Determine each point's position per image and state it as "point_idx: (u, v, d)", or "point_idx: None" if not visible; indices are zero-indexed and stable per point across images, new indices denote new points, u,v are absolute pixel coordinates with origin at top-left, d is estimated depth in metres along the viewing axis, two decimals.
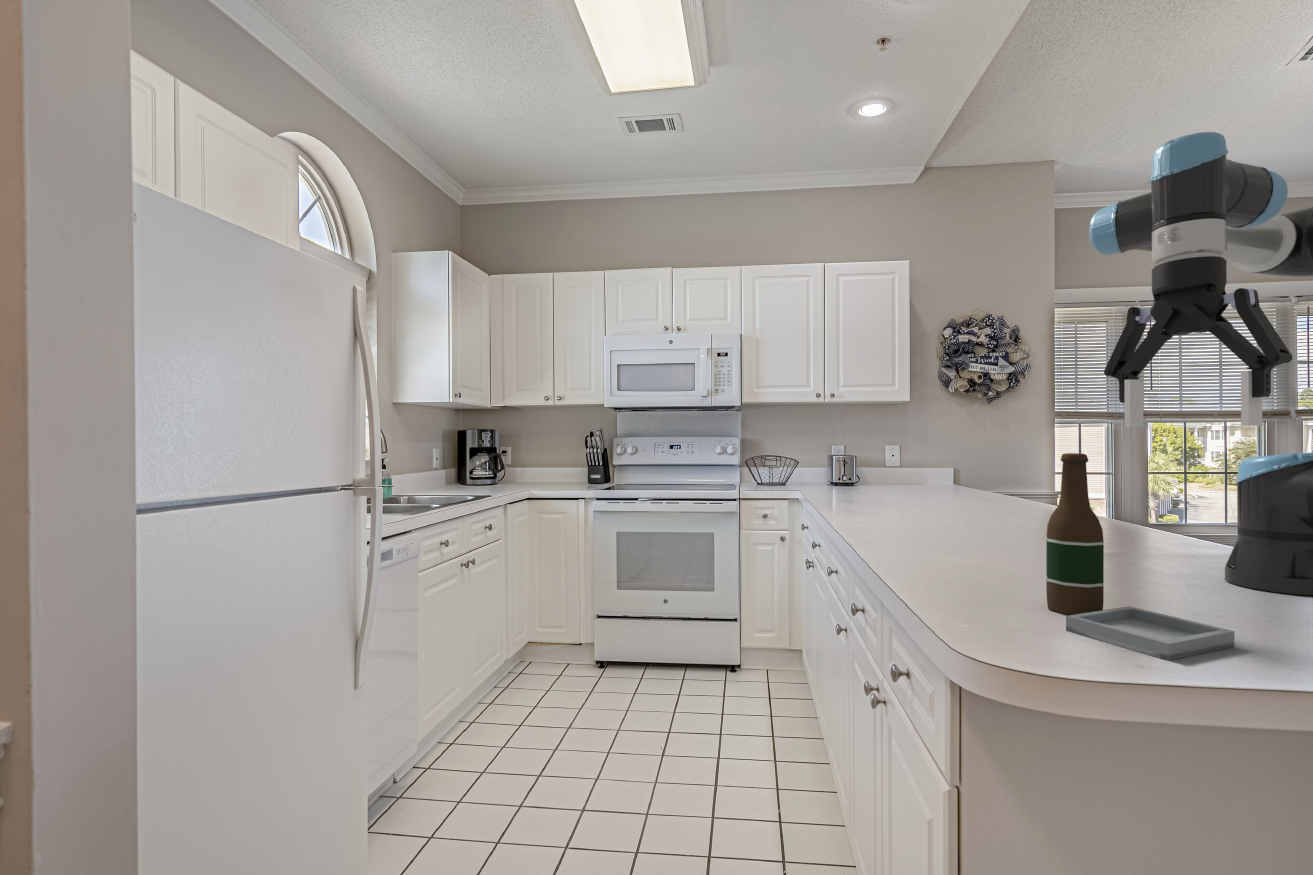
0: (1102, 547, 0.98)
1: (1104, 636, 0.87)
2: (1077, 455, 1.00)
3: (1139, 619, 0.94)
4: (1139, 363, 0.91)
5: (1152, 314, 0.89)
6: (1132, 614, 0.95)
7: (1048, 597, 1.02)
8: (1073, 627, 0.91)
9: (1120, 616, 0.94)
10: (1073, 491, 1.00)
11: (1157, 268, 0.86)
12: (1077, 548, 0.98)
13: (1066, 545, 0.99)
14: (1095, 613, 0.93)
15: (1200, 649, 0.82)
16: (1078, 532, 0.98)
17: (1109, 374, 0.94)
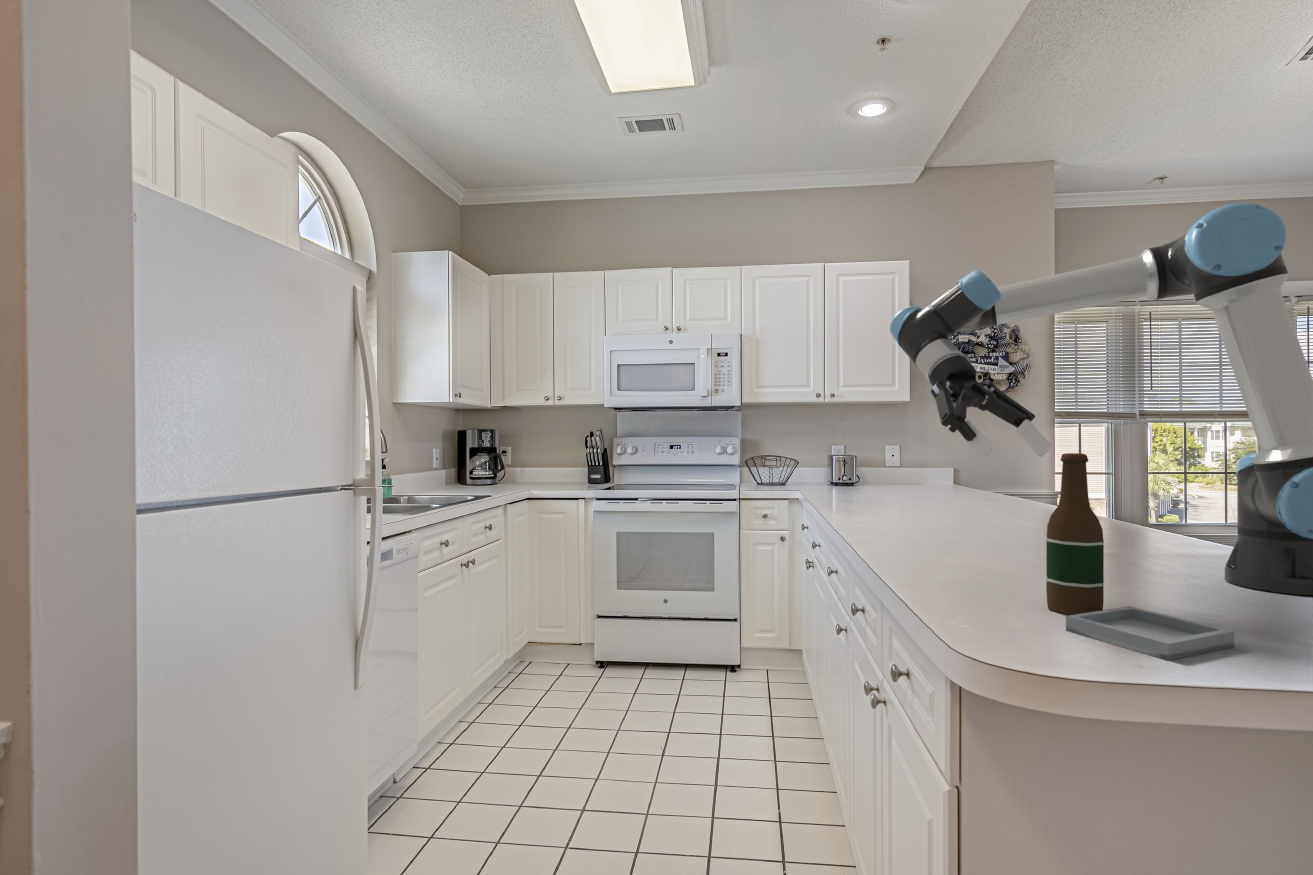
0: (1102, 547, 0.98)
1: (1104, 636, 0.87)
2: (1077, 455, 1.00)
3: (1139, 619, 0.94)
4: (1008, 418, 1.18)
5: None
6: (1132, 614, 0.95)
7: (1048, 597, 1.02)
8: (1073, 627, 0.91)
9: (1120, 616, 0.94)
10: (1073, 491, 1.00)
11: None
12: (1077, 548, 0.98)
13: (1066, 545, 0.99)
14: (1095, 613, 0.93)
15: (1200, 649, 0.82)
16: (1078, 532, 0.98)
17: None
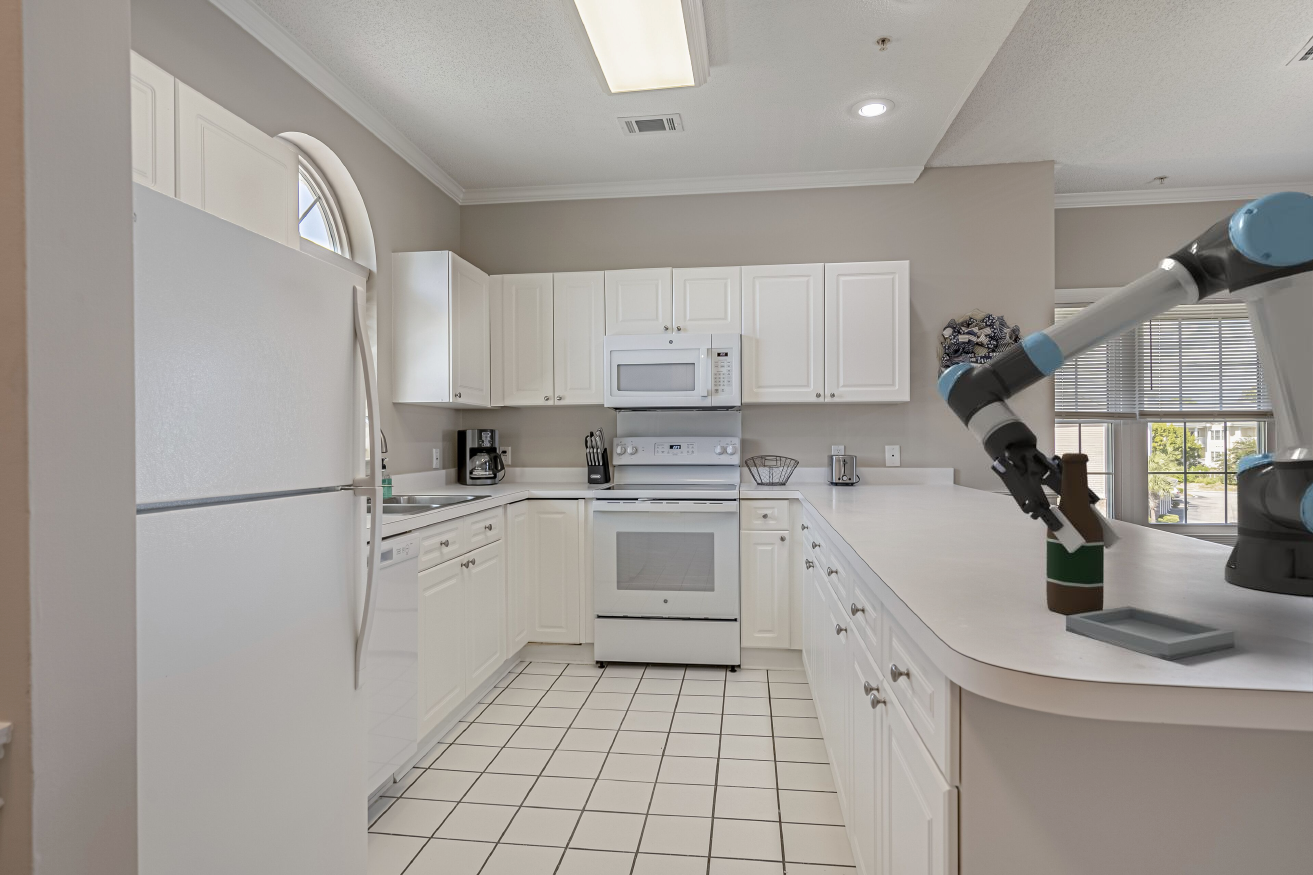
0: (1102, 547, 0.98)
1: (1104, 636, 0.87)
2: (1078, 455, 1.00)
3: (1139, 619, 0.94)
4: None
5: None
6: (1132, 614, 0.95)
7: (1048, 597, 1.02)
8: (1073, 627, 0.91)
9: (1120, 616, 0.94)
10: (1073, 491, 1.00)
11: None
12: None
13: None
14: (1095, 613, 0.93)
15: (1200, 649, 0.82)
16: (1078, 532, 0.98)
17: None
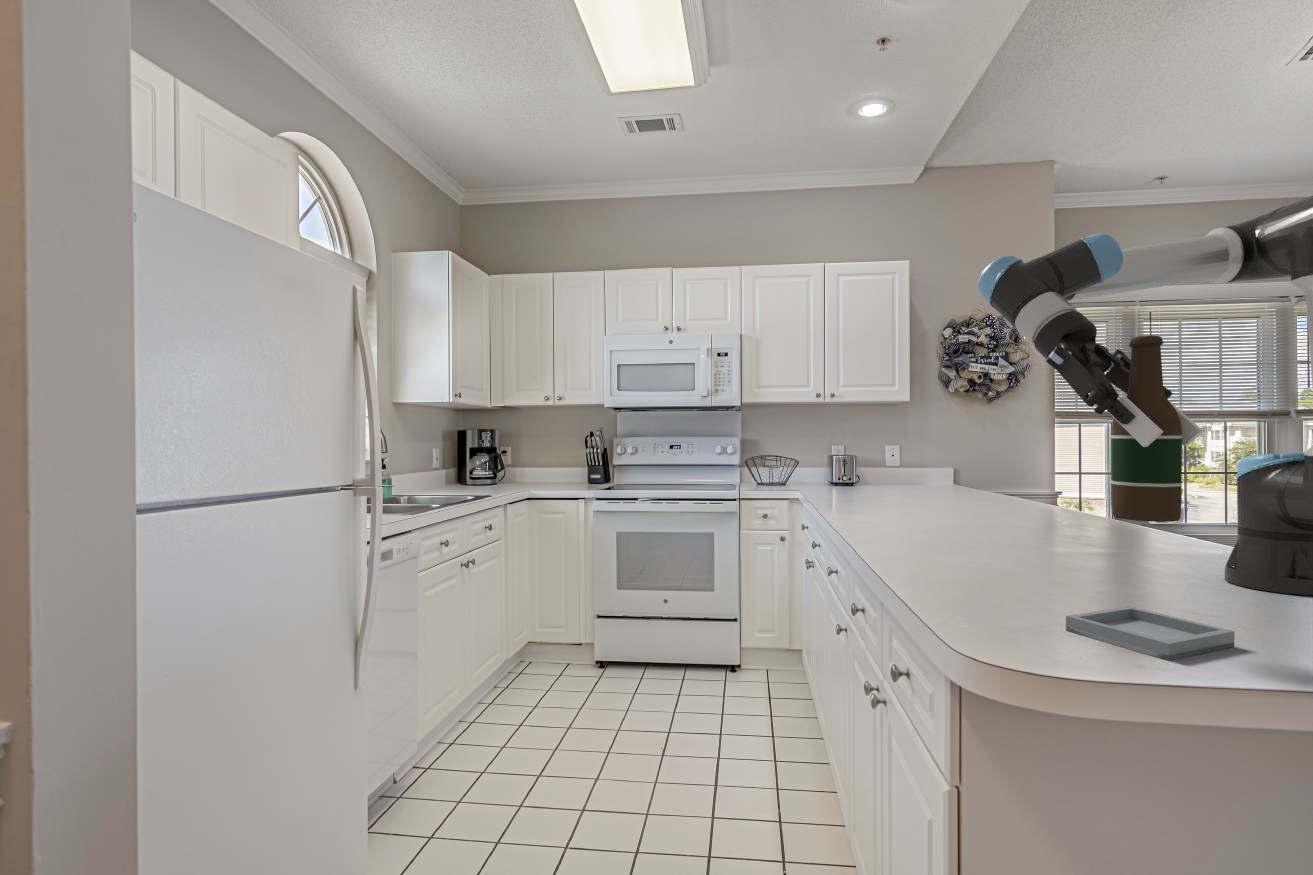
0: (1180, 441, 0.85)
1: (1104, 636, 0.87)
2: (1150, 337, 0.86)
3: (1139, 619, 0.94)
4: None
5: None
6: (1132, 614, 0.95)
7: (1115, 503, 0.88)
8: (1073, 627, 0.91)
9: (1120, 616, 0.94)
10: (1145, 379, 0.86)
11: None
12: None
13: None
14: (1095, 613, 0.93)
15: (1200, 649, 0.82)
16: None
17: None
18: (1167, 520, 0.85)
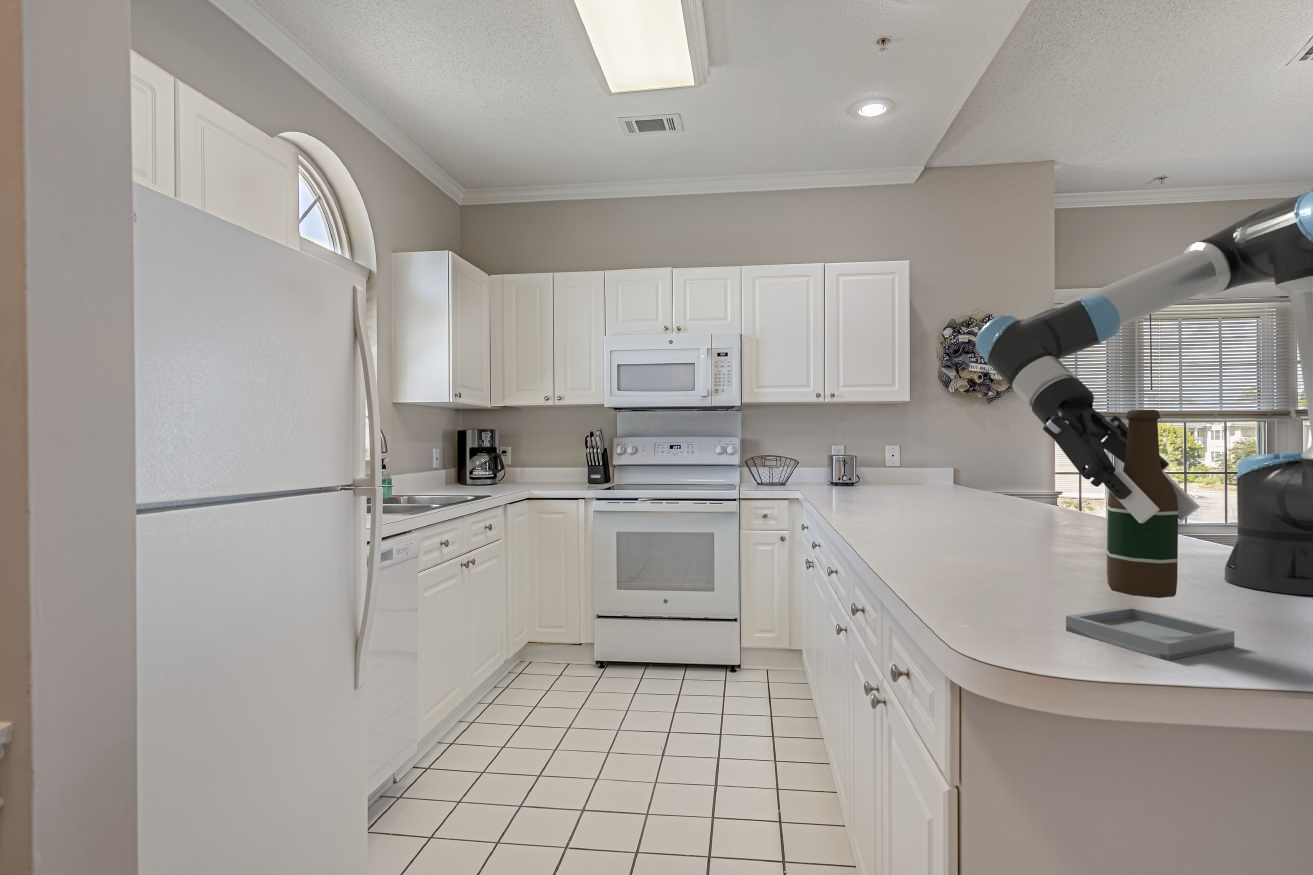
0: (1176, 517, 0.85)
1: (1104, 636, 0.87)
2: (1147, 411, 0.86)
3: (1139, 619, 0.94)
4: None
5: None
6: (1132, 614, 0.95)
7: (1111, 575, 0.88)
8: (1073, 627, 0.91)
9: (1120, 616, 0.94)
10: (1142, 453, 0.86)
11: None
12: None
13: None
14: (1095, 613, 0.93)
15: (1200, 649, 0.82)
16: None
17: None
18: (1163, 596, 0.85)
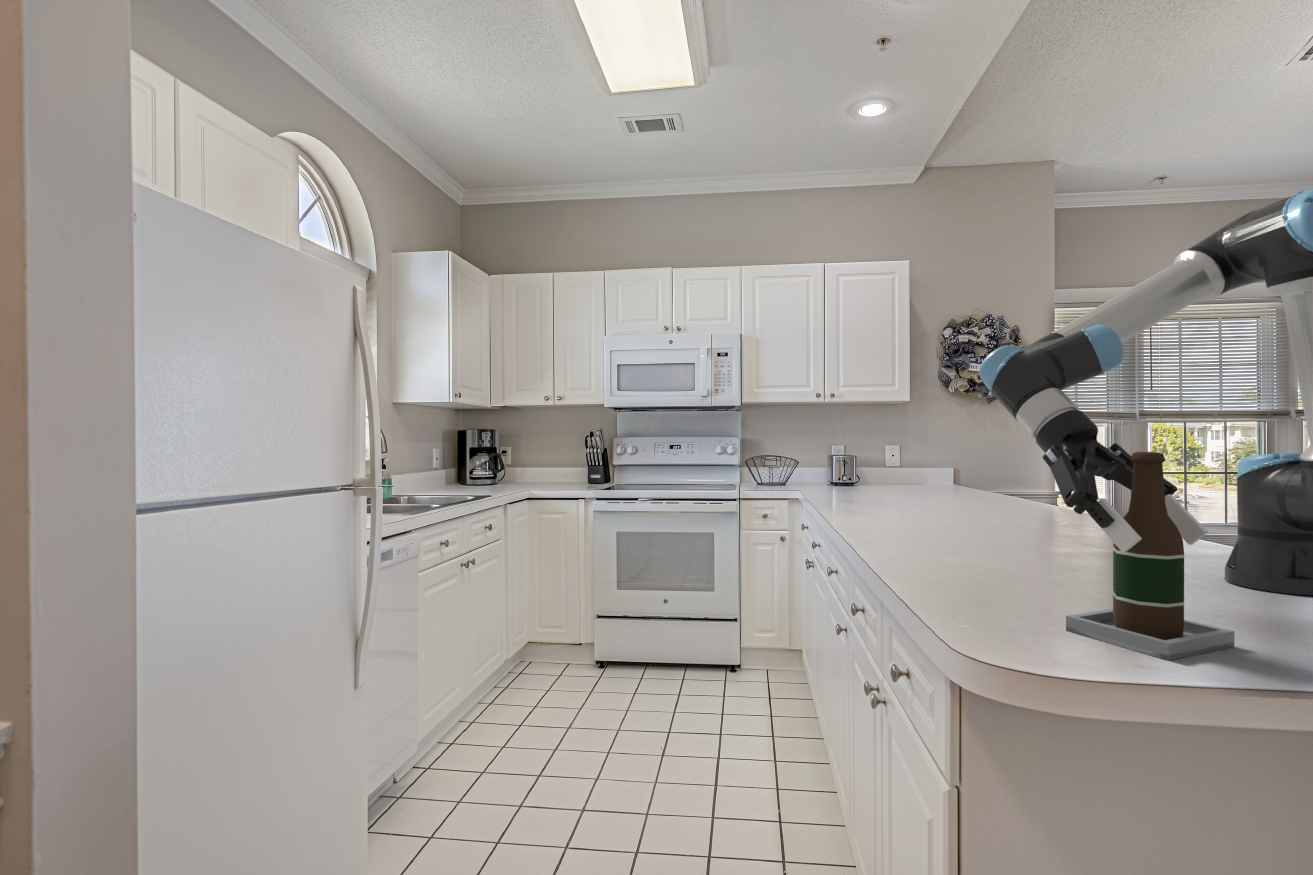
0: (1183, 560, 0.85)
1: (1104, 636, 0.87)
2: (1152, 454, 0.86)
3: None
4: None
5: None
6: None
7: (1117, 618, 0.88)
8: (1073, 627, 0.91)
9: None
10: (1148, 496, 0.87)
11: None
12: (1154, 562, 0.85)
13: (1141, 558, 0.85)
14: (1095, 613, 0.93)
15: (1200, 649, 0.82)
16: (1155, 544, 0.85)
17: None
18: None
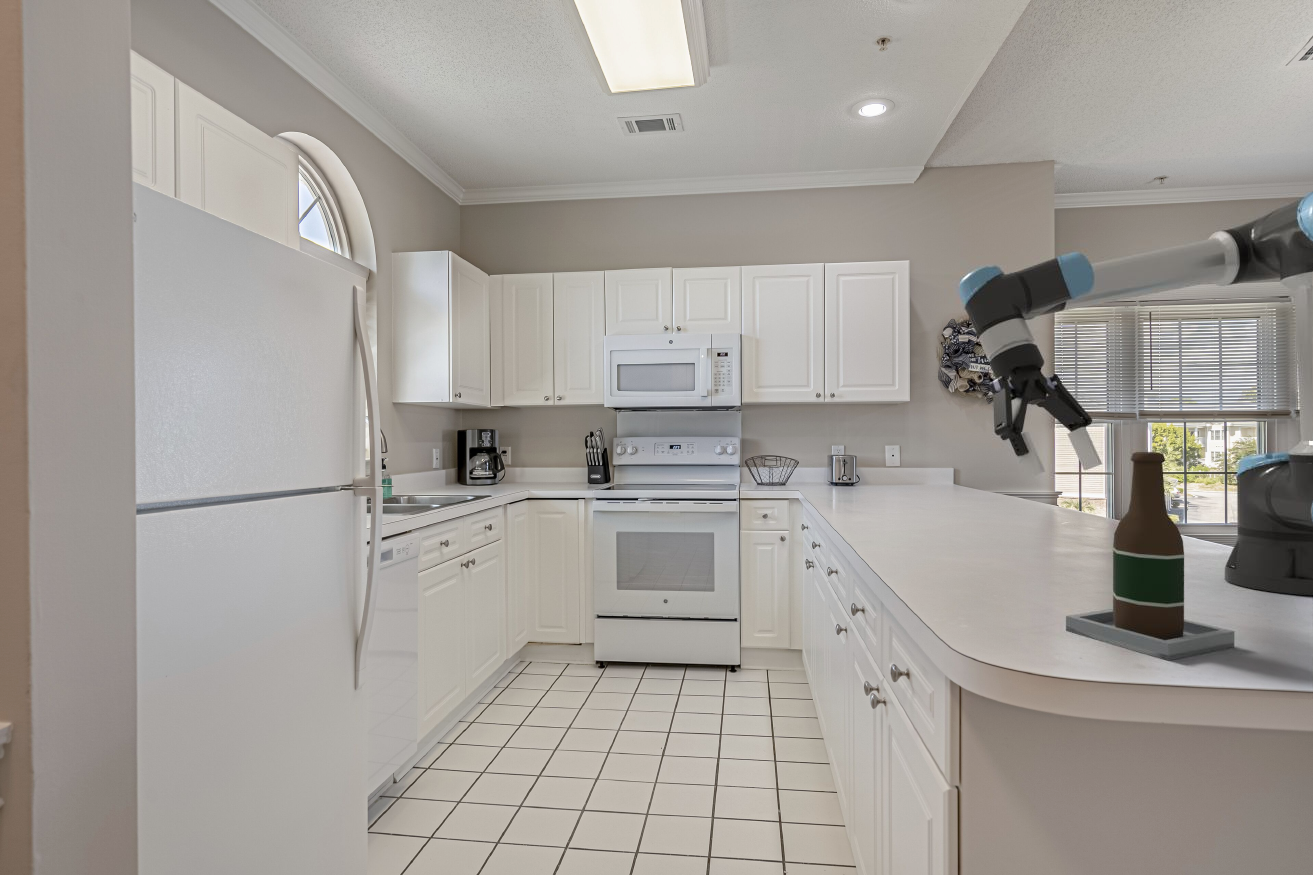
0: (1183, 560, 0.85)
1: (1104, 636, 0.87)
2: (1152, 454, 0.86)
3: None
4: (1063, 420, 1.10)
5: None
6: None
7: (1117, 618, 0.88)
8: (1073, 627, 0.91)
9: None
10: (1148, 496, 0.87)
11: None
12: (1154, 562, 0.85)
13: (1141, 558, 0.85)
14: (1095, 613, 0.93)
15: (1200, 649, 0.82)
16: (1155, 544, 0.85)
17: None
18: None
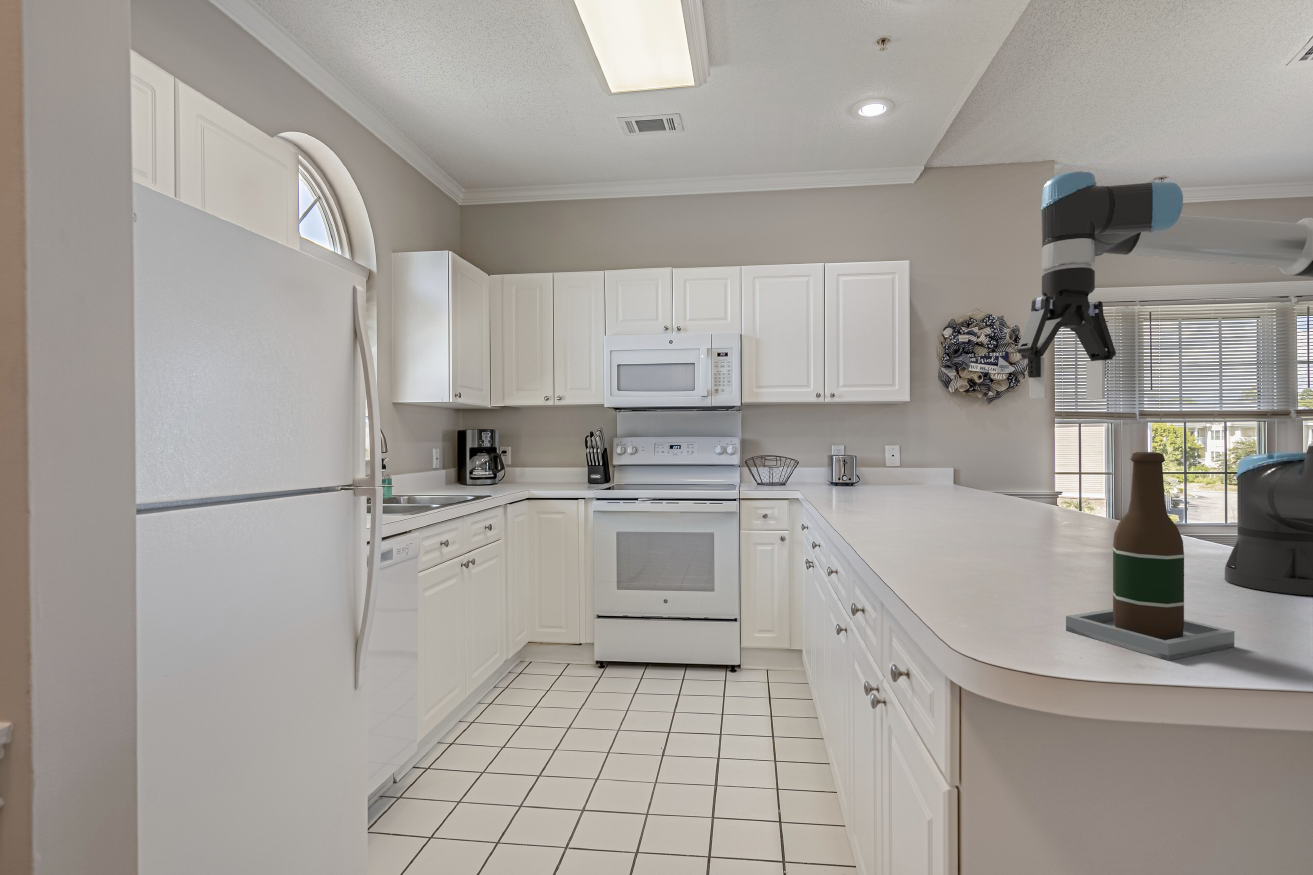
0: (1182, 560, 0.85)
1: (1104, 636, 0.87)
2: (1152, 454, 0.86)
3: None
4: (1088, 348, 1.13)
5: None
6: None
7: (1117, 618, 0.88)
8: (1073, 627, 0.91)
9: None
10: (1148, 496, 0.87)
11: None
12: (1154, 562, 0.85)
13: (1141, 558, 0.85)
14: (1095, 613, 0.93)
15: (1200, 649, 0.82)
16: (1155, 544, 0.85)
17: None
18: None
